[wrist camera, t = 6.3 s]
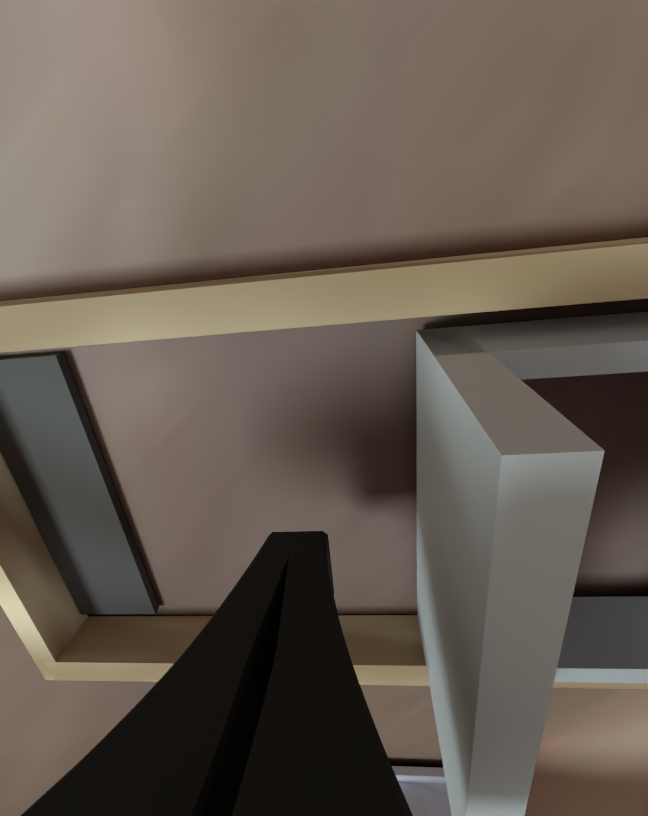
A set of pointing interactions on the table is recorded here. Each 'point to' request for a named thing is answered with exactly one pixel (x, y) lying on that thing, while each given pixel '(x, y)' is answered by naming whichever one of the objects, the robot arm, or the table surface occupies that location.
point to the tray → (512, 544)
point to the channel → (196, 316)
